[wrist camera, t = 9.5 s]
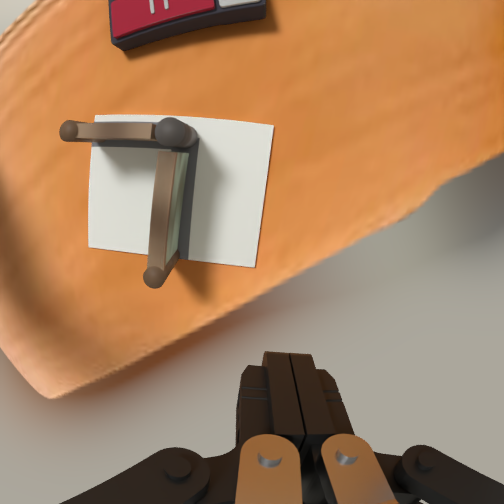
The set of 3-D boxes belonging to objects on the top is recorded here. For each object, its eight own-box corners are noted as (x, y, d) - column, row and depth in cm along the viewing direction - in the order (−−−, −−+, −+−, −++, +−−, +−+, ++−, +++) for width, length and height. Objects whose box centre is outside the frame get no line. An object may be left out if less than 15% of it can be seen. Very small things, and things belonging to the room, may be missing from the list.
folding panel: (173, 151, 28) (154, 150, 22) (192, 153, 28) (177, 152, 22) (161, 261, 31) (142, 286, 25) (178, 264, 31) (163, 290, 25)
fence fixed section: (94, 144, 28) (56, 144, 21) (96, 123, 27) (59, 118, 20) (196, 149, 28) (181, 147, 22) (199, 126, 28) (185, 117, 21)
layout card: (89, 246, 31) (88, 247, 31) (96, 115, 27) (95, 115, 27) (254, 266, 32) (254, 267, 32) (273, 125, 28) (273, 125, 28)
